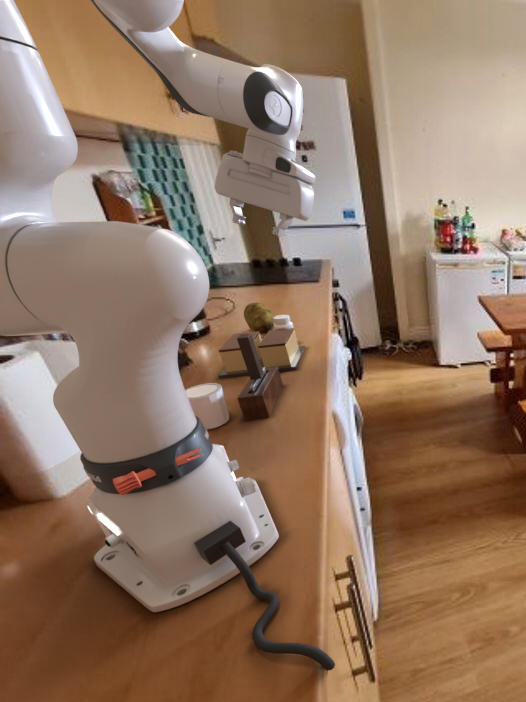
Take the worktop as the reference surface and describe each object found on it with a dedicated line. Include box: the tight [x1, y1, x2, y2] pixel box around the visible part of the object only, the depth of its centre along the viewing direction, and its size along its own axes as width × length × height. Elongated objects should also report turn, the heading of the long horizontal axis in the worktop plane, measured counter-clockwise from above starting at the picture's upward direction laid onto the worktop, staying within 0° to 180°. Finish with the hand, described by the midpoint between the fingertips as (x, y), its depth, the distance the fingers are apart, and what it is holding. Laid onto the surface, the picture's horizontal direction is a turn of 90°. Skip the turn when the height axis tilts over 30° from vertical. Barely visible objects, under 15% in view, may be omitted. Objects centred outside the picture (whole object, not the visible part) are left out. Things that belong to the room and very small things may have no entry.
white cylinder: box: [185, 382, 230, 430], centre depth 80 cm, size 7×7×7 cm
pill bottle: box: [272, 314, 298, 340], centre depth 117 cm, size 5×5×8 cm
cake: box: [217, 327, 306, 379], centre depth 106 cm, size 15×17×7 cm
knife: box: [237, 334, 267, 393], centre depth 85 cm, size 10×2×15 cm, turn 16°
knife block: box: [236, 367, 284, 421], centre depth 87 cm, size 14×4×5 cm, turn 16°
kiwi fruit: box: [243, 301, 275, 335], centre depth 129 cm, size 8×13×8 cm, turn 23°
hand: (258, 230), depth 87 cm, fingers open, 8 cm apart
